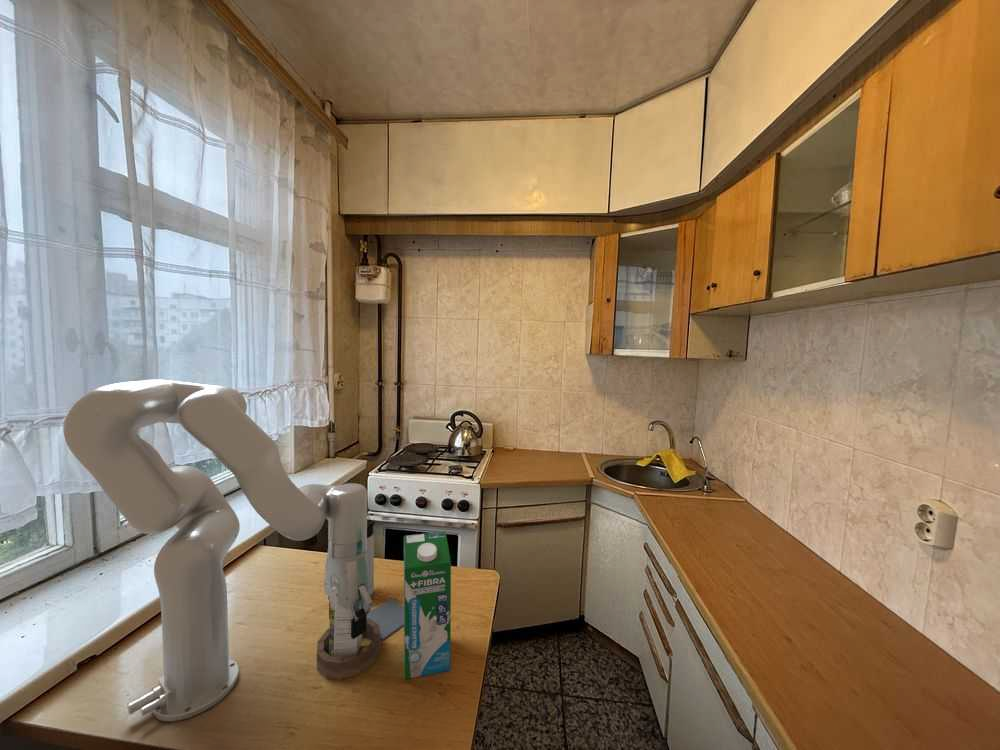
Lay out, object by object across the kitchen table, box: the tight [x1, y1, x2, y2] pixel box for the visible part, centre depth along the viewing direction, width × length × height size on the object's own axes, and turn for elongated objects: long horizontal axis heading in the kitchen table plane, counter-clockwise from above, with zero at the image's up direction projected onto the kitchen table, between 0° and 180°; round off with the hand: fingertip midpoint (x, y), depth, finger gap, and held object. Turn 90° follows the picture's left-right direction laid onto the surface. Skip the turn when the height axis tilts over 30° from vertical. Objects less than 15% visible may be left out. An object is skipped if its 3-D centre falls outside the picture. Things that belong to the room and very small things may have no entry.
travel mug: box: [366, 518, 376, 599], centre depth 98 cm, size 6×7×20 cm
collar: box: [316, 618, 382, 681], centre depth 79 cm, size 12×12×4 cm
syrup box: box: [328, 587, 364, 658], centre depth 79 cm, size 6×6×14 cm
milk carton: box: [403, 530, 452, 680], centre depth 78 cm, size 9×9×25 cm
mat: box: [367, 598, 404, 642], centre depth 90 cm, size 10×10×1 cm
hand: (347, 624), depth 79 cm, fingers closed on syrup box, 7 cm apart
